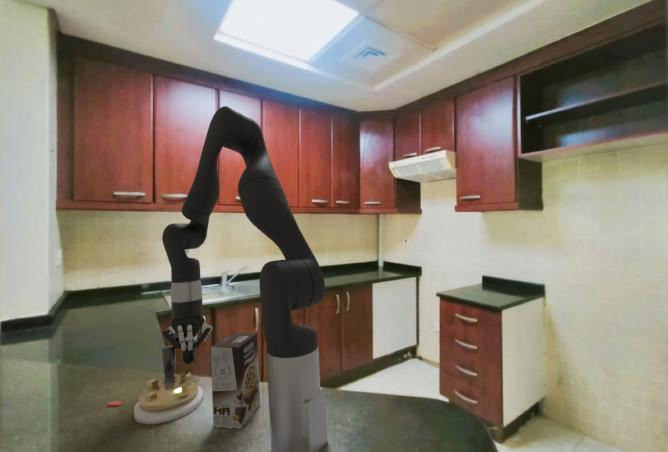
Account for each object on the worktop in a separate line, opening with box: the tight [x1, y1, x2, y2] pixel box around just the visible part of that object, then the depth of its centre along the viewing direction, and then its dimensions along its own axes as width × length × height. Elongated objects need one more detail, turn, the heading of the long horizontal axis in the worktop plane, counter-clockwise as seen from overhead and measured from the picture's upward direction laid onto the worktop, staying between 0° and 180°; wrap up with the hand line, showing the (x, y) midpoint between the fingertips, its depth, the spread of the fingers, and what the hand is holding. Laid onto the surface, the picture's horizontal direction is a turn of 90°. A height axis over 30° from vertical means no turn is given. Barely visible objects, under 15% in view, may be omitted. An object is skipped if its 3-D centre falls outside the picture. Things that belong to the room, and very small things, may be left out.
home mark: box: [106, 401, 124, 407], centre depth 73 cm, size 3×1×1 cm, turn 83°
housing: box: [133, 385, 204, 425], centre depth 71 cm, size 14×14×2 cm
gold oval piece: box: [138, 344, 199, 412], centre depth 74 cm, size 18×12×8 cm, turn 28°
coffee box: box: [210, 332, 261, 429], centre depth 66 cm, size 9×6×16 cm
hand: (189, 363), depth 82 cm, fingers closed
